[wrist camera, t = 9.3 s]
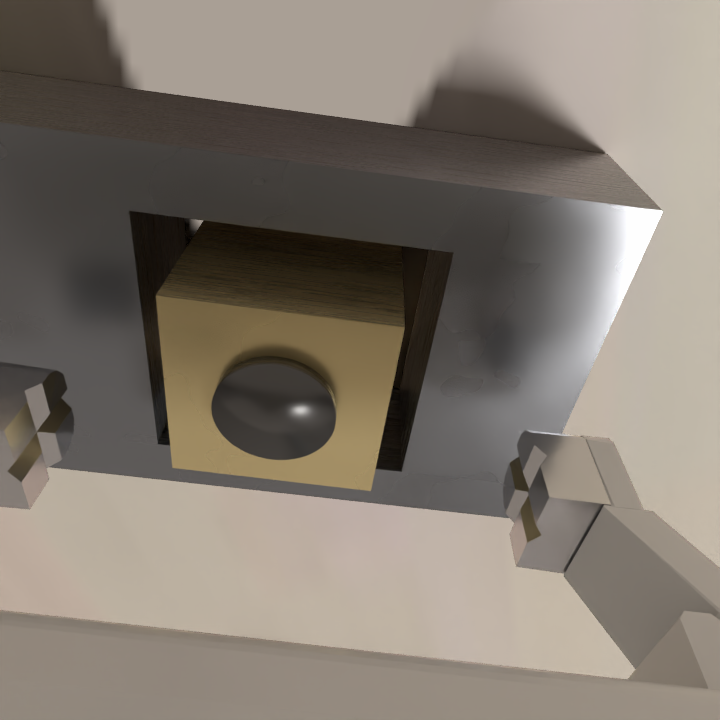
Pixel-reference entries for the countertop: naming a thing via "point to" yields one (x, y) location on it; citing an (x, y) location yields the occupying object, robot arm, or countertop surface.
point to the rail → (318, 217)
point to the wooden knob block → (280, 353)
